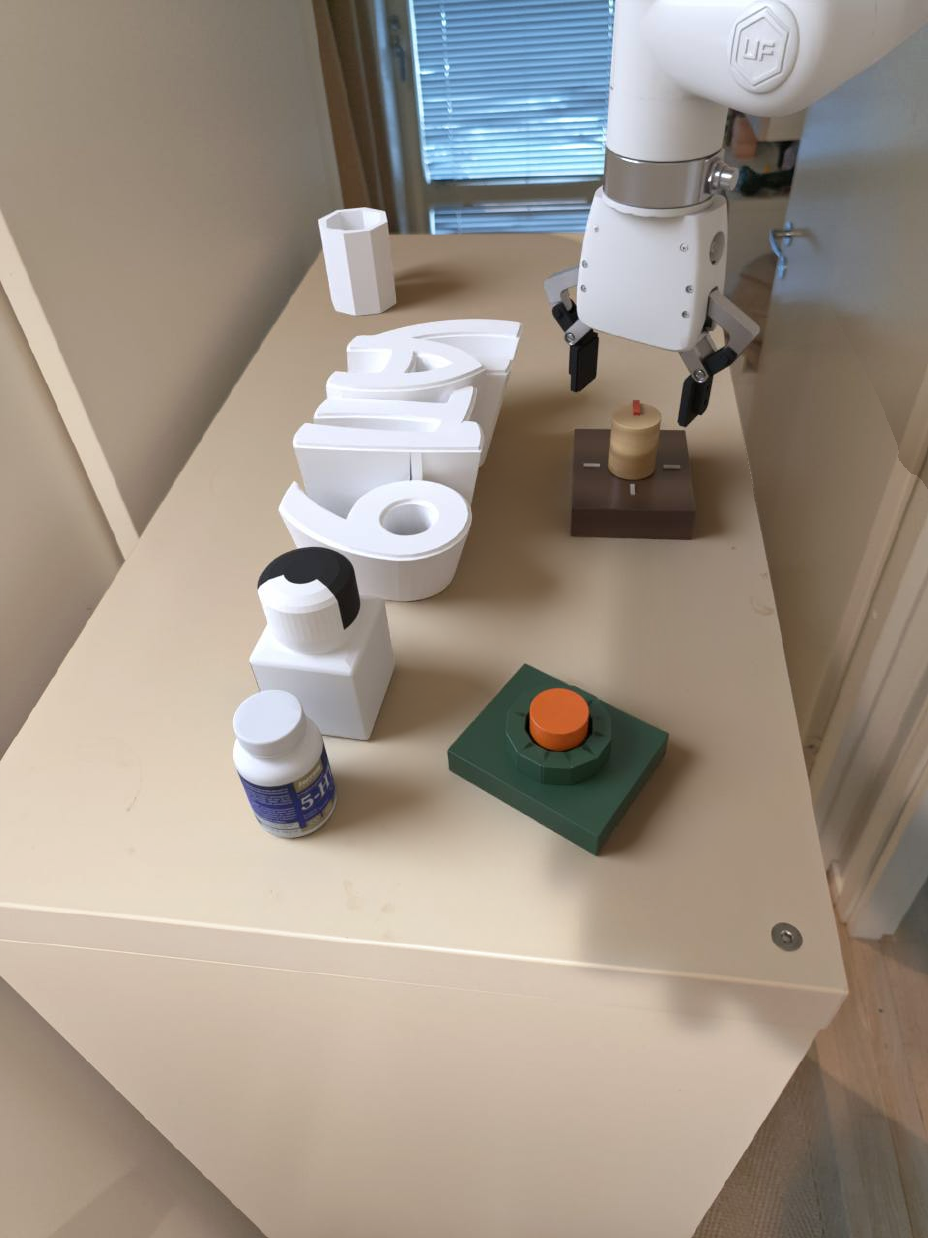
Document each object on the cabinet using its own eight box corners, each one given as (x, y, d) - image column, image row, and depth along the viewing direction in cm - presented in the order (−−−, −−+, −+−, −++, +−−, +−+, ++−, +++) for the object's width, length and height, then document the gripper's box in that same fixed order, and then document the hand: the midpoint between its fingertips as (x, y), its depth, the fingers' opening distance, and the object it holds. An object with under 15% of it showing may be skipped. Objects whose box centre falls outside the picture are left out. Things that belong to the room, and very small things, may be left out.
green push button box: (665, 754, 55) (673, 715, 52) (596, 856, 50) (599, 820, 47) (524, 683, 60) (524, 644, 57) (448, 770, 55) (444, 732, 52)
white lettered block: (387, 389, 90) (375, 293, 83) (540, 401, 87) (541, 301, 80) (257, 616, 67) (224, 509, 59) (461, 644, 63) (452, 534, 56)
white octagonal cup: (387, 317, 103) (377, 234, 96) (321, 314, 105) (306, 232, 98) (413, 276, 111) (405, 196, 104) (351, 273, 113) (339, 195, 106)
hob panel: (691, 539, 70) (696, 509, 68) (570, 536, 72) (571, 506, 69) (681, 457, 79) (685, 428, 77) (573, 455, 80) (574, 426, 78)
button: (598, 721, 53) (600, 704, 52) (568, 761, 51) (569, 743, 50) (549, 697, 55) (550, 679, 53) (518, 734, 53) (518, 716, 51)
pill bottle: (324, 845, 52) (296, 759, 46) (243, 834, 53) (205, 748, 46) (347, 773, 55) (325, 685, 49) (272, 764, 56) (240, 676, 50)
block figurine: (305, 654, 63) (270, 529, 55) (396, 665, 62) (375, 538, 54) (270, 729, 58) (227, 604, 50) (369, 743, 57) (341, 616, 49)
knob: (656, 480, 71) (663, 425, 68) (608, 479, 72) (612, 425, 68) (653, 453, 74) (660, 399, 70) (607, 452, 75) (611, 399, 71)
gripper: (807, 178, 55) (755, 410, 67) (577, 140, 63) (567, 354, 75) (761, 216, 51) (714, 456, 63) (521, 170, 58) (520, 392, 71)
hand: (634, 401), depth 69 cm, fingers open, 9 cm apart
